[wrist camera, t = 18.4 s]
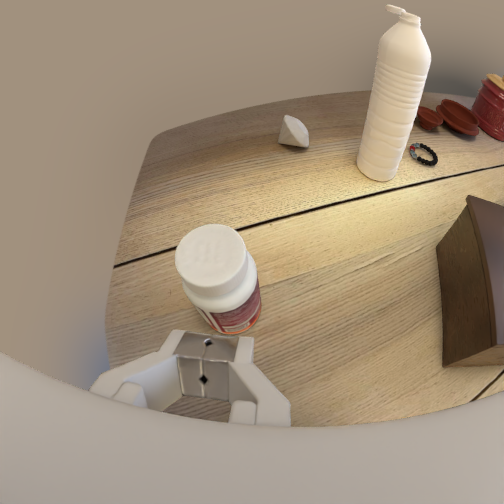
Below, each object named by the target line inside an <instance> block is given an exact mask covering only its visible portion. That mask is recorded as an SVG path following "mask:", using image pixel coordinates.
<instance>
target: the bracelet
mask: <svg viewBox="0 0 504 504" xmlns="http://www.w3.org/2000/svg"><path fill="white" fill-rule="evenodd" d="M415 147H417V148H418V147H420V148H424V149H425V150H427V151H428V152H429V153H430V154H432V156H433V160H432V161H428V160H425V159H422V158H421V157H420V156H419V157H417V155H416V154H414V153H415ZM410 154H411V155H412V157H413V158H416V159H417V160H418V161H419V162H420V161H421V163H423V164H424V163H425V164H426V165H429V166H431V165H435V164H436V163H437V161H438V159H437V158H438V157H437V156H436V153H435V152H434V151H433V150H431V149H430V147H427V146H426V145H423V144H419V143H414V144H412V145H411V146H410Z"/></svg>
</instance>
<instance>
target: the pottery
mask: <svg viewBox="0 0 504 504" xmlns="http://www.w3.org/2000/svg"><path fill="white" fill-rule="evenodd" d="M436 111H437V113H438V114H437V113H436V112H434V111H433V110H431V109H429V108H426V107H421V106H419V107H418V110H417V115H418V118H419V120H420V125H421V126H422V127H423V128H424V129H427V130H432V127H437V126H439V125H441V124H442V123H443V119H444V120H445V123H446V124H447V125H448V126H449V127H450V128H451V129H453V130H454V131H456V132H458V133H461V134H468V135H472V136H476V135H478V133H479V131H478V128H477V127H478V125H479V120H478V119H477V117H476V116H475V115H474V114H473V113H472V112H471V111H470V110H468V109H467V108H466V107H464V106H462V105H461V104H459V103H457V102H455V101H452V100H448V99H444V100H442V103H441V105H438V106H437V107H436Z"/></svg>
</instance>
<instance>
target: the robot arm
mask: <svg viewBox="0 0 504 504" xmlns="http://www.w3.org/2000/svg"><path fill="white" fill-rule="evenodd" d="M253 355H254V337H239V336H223V335H213V334H206V333H198V332H191V331H184V330H176V329H174V330H172V331H171V332H170V334H169V335H168V337H167V338H166V340H165V341H164V343H163V344H162V346H161V347H160V349H159V351H158V352H152V353H149V354H147V355H145V356H142V357H140V358H138V359H135V360H133V361H130V362H128V363H126V364H123V365H121V366H118V367H116V368H113V369H111V370H108V371H106V372H103V373H101V375H100V376H99V377H98V378H97V380H96V381H95V382H94V383H93V385H92V386H91V387H90V388H89V390H88V391H87V390H84V389H81V388H78V387H76V386H73V385H70V384H68V383H66V382H63V381H60V380H58V379H56V378H53V377H51V376H49V375H46V374H44V373H42V372H40V371H38V370H36V369H33V368H32V367H29V366H27V365H25V364H23V363H21V362H19V361H17V360H16V359H14V358H12V357H10V356H8V355H6V354H4V353H3V352H1V351H0V504H504V391H501V392H499V393H496V394H493V395H490V396H488V397H485V398H482V399H479V400H476V401H473V402H469V403H466V404H463V405H459V406H456V407H452V408H448V409H444V410H440V411H436V412H432V413H427V414H423V415H418V416H412V417H407V418H401V419H395V420H388V421H381V422H373V423H364V424H354V425H340V426H320V427H291V414H290V402H289V401H288V400H287V399H286V398H285V397H284V395H283V394H282V393H281V392H280V391H279V390H278V389H277V388H276V387H275V386H274V385H273V384H272V383H271V382H270V380H269V379H268V378H267V377H266V376H265V375H264V374H263V373H262V372H261V371H260V369H259V368H258V367H257V366H256V365H255V364H253ZM182 395H184V396H191V397H199V398H207V399H213V400H220V401H228V402H229V403H230V405H231V411H230V416H229V420H228V423H226V422H218V421H210V420H203V419H197V418H191V417H185V416H180V415H174V414H169V413H164V412H162V411H163V410H164V409H166V408H167V407H169V406H170V405H171V404H173V403H174V402H175V401H177V400H178V399H179V398H181V397H182Z"/></svg>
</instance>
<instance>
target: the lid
mask: <svg viewBox="0 0 504 504" xmlns="http://www.w3.org/2000/svg"><path fill="white" fill-rule="evenodd" d="M466 202H467V205H468V208H469V211H470V215H471V218H472V222H473V225H474V229H475V233H476V237H477V241H478V245H479V249H480V254H481V259H482V264H483V269H484V274H485V280H486V287H487V294H488V302H489V311H490V322H491V338H492V347H504V206H501V205H498V204H495V203H492V202H489V201H486V200H483V199H480V198H477V197H474V196H471V195H468V196H467V198H466Z"/></svg>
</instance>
